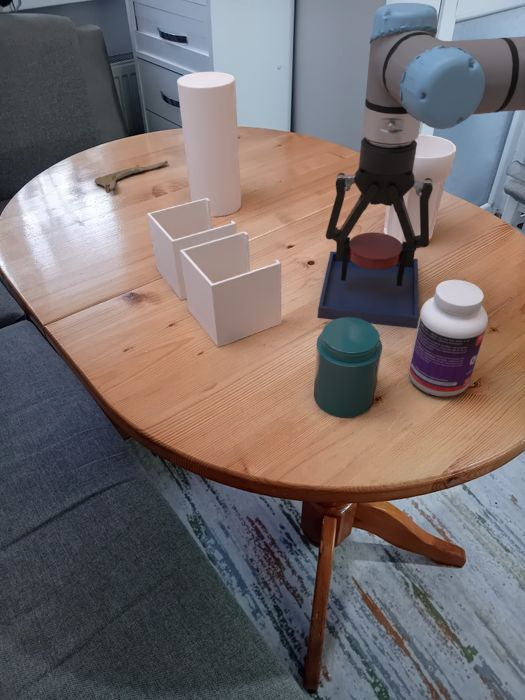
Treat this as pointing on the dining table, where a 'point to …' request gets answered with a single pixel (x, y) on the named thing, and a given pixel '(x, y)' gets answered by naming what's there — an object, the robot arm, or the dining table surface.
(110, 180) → the tan bone
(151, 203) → the dining table surface
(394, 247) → the lid
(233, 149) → the tall pillar cylinder
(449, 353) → the pill bottle
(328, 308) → the tray
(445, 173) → the cup
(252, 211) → the dining table surface
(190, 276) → the storage container
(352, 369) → the jar
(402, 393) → the dining table surface
